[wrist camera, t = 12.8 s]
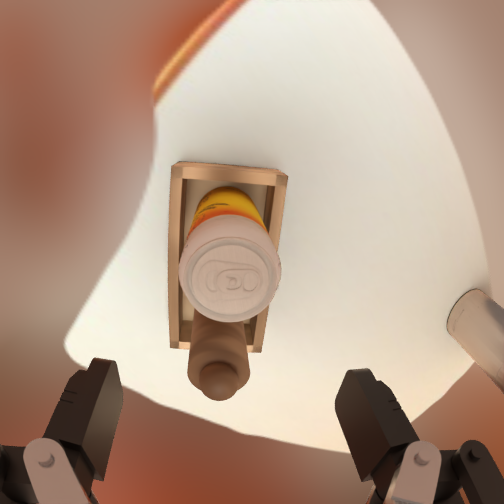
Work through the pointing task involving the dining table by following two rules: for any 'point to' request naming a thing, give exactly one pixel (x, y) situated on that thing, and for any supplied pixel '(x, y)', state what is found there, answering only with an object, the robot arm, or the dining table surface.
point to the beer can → (229, 258)
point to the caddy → (180, 309)
